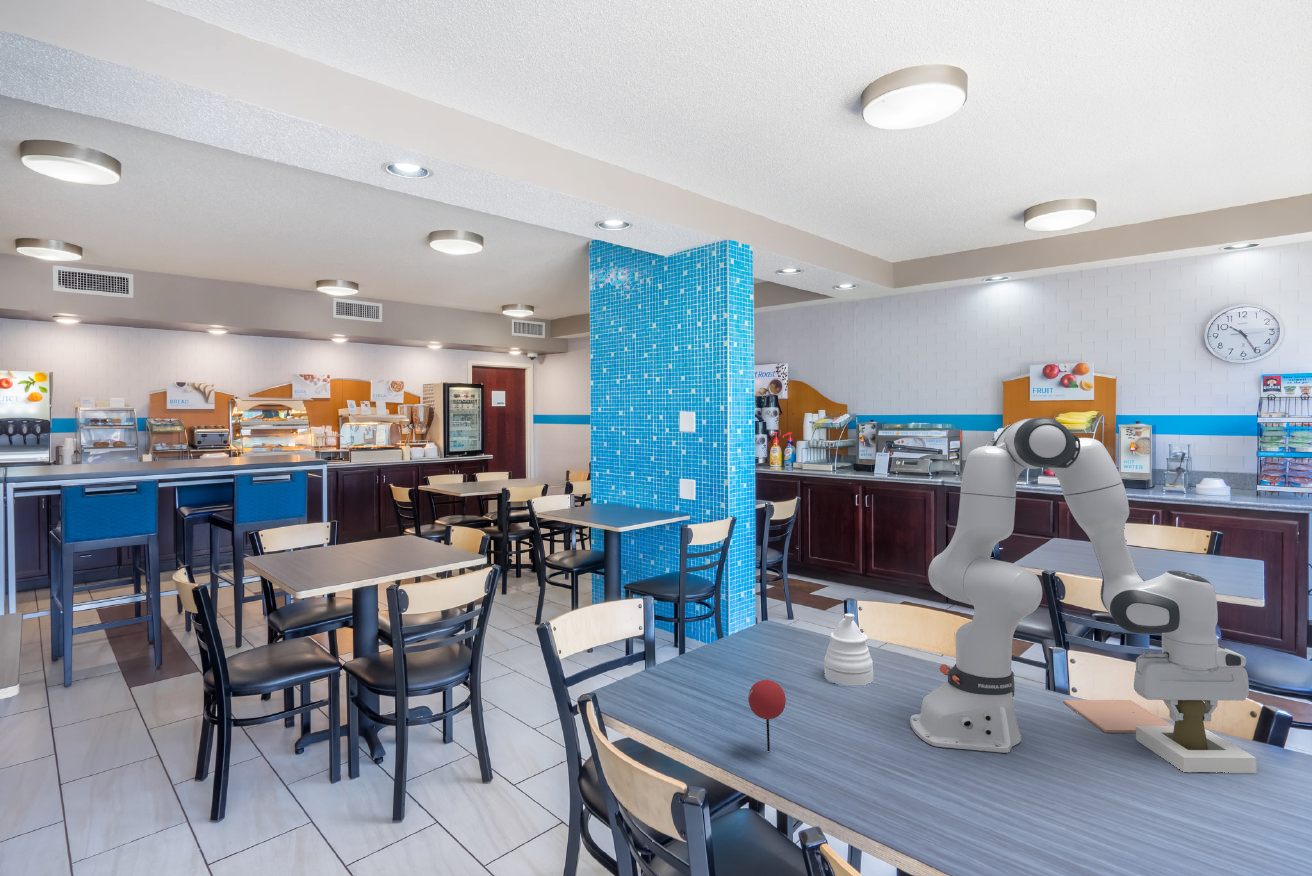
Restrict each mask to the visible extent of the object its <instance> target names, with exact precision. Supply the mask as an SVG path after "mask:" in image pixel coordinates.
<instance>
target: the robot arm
mask: <svg viewBox="0 0 1312 876" xmlns="http://www.w3.org/2000/svg"><path fill="white" fill-rule="evenodd" d="M1043 468H1044V469H1049V470H1050V471H1051V472H1052V473H1053V475H1054V476H1055V477H1056V478H1057V480H1058V481H1059V485H1060V488H1061V491H1062V495H1063V497H1064V500H1065V502H1066V505H1067V507H1068V508H1069V511H1070V513H1071V515H1072V517H1073V518H1074V520H1075V521H1076V523H1077V524H1078V526H1079V527H1080V528H1081V529H1082V530H1083V531H1084V533H1085V534H1086V535H1087V537H1088V538H1089V540H1090V543H1091V545H1092V548H1093V552H1094V554H1095V556H1096V558H1097V561H1098V565H1099V568H1100V571H1101V575H1102V581H1101V586H1100V587H1101V588H1100V600H1101V604H1102V605H1103V607H1104V608H1105V610H1106V611H1107V612H1108V613H1109V615H1110V617H1111V618H1112V620H1113V621H1114V622H1115V623H1116V625H1118V626H1119V627H1120V628H1122V629H1124V630H1125V631H1127V632H1130V633H1134V634H1148V635H1149V634H1161V651H1158V652H1157V651H1156V652H1152V651H1146V652H1143V653H1142V654H1140V655H1139V656H1138V657H1136V659H1135V673H1134V678H1133V679H1134V680H1133V690H1134V691H1135V693H1136V694H1137V695H1138V696H1140V697H1142V698H1143V699H1146V700H1148V701H1163V703H1164V704H1165V706H1166V707H1167V709H1168V711H1169V714H1168V715H1169V719H1170V720H1172V721H1174V722H1175V721H1183V713H1181V712H1179V711H1178V710H1177V708H1176V706H1175V705H1178V700H1202V701H1203V702H1204V703H1205V706H1206V713H1205V714H1204V715H1203V722H1211V721H1212V714H1213V713H1214V711H1215V710H1216V708H1217V707H1218V706H1219V705H1218V702H1219V701H1232V702H1233V701H1234V702H1236V701H1237V702H1238V701H1245V700H1246V699H1247V698H1248V697H1249V693H1250V692H1249V691H1250V686H1249V684H1250V683H1249V676H1248V671H1247V670H1246V669H1245V666H1246V664H1247V658H1246V657H1245V656H1244V655H1243V654H1240V653H1238V652H1235V651H1233V650H1231V649H1228V648H1226V647H1223V646H1220V645H1219V639H1218V636H1217V633H1216V632H1217V631H1216V626H1217V624H1218V621H1219V620H1218V600H1217V593H1216V591H1215V588H1214V586H1213V584H1212V583H1211V582H1210V581H1209V580H1208V579H1206V578H1204V577H1202V576H1200V575H1198V574H1197V575H1196V574H1194V573H1189V572H1185V571H1181V570H1167V571H1166V572H1164V573H1163V574H1161V575H1158V576H1157V577H1153V578H1151V579H1147V580H1145V579H1144V578H1143V577H1142V576H1141V575H1140V574H1139V573H1138V571H1137V569H1136V567H1135V564H1134V561H1133V558H1132V555H1131V552H1130V550H1129V547H1128V543H1127V541H1126V536H1125V526H1126V524H1127V523H1126V522H1127V520H1128V518H1129V516H1130V506H1129V499H1128V494H1127V490H1126V488H1125V485H1124V481H1123V479H1122V476H1121V475H1120V473H1119V470H1118V468H1117V466H1116V464H1115V462H1114V460H1113V459H1112V457H1111V455H1110V452H1109V451H1108V449H1107V448H1106V447H1105V445H1104V444H1103V443H1102V442H1101V441H1099V439H1095V438H1091V437H1077V436H1076V435H1075V434H1074V433H1073V432H1071V431H1070V430H1069V428H1067V427H1066V426H1065V425H1064V424H1063V423H1061V422H1059V421H1058V420H1056V419H1053V418H1050V417H1045V416H1043V417H1039V416H1038V417H1034V418H1030V417H1029V418H1024V419H1021V420H1018V421H1016V422H1013V423H1011V424H1010V425H1008V426H1006V428H1004V429H1003V430H1002V431H1001V433H999V435H998V437H997V439H995V441H994V442H993V444H992V445H982V446H978V447H976V448H974V449H973V450H971V451H970V452H969V453H968V455H967V457H966V460H965V463H964V469H963V471H962V477H961V484H960V495H959V507H958V515H957V523H956V527H955V531H954V534H953V535H952V538H951V539H950V542H949V544H948V545H947V546H946V547H945V549H944V550H943V551H942V552H940V553H939V554H937V555H936V556H935V557H933V559H932V560H931V562H930V564H929V566H928V570H927V571H928V572H927V574H928V575H927V576H928V581H929V584H930V586H931V587H932V589H933V590H934V591H936V592H938V593H940V594H941V595H942V596H945V597H947V598H949V599H951V600H953V601H957V602H960V603H964V604H967V605H970V606H973V609H974V610H973V611H974V612H973V616H972V620H971V621H968V622H966V623H964V624H962V625H961V626H960V627H959V628H958V629H957V630H956V633H955V664H954V665H953V666H952V668H950V667H949V666H948V665H947V664H946V663H945V664H944V663H943V664H940V665H939V671H940V673H942V674H943V676H944V675H945V676H947V681H946V682H945V683H943V684H941V685H940V686H939V687H937V688H936V689H934V690H932V691H930V693H928V694H926V695H925V696H924V697H923V699H922V702H921V706H920V713H918V714H917V713H916V714H912V715H911V716H910V719H909V725H910V727H911V729H912V731H913V732H914V733H915V735H916V736H917V737H919V738H920V739H921V740H922V741H923V742H926V743H927V744H929V745H931V746H933V747H936V748H937V747H938V748H947V749H948V748H949V749H960V750H961V749H962V750H969V751H981V752H990V753H991V752H992V753H1006V754H1008V753H1010V752H1011V750H1012V748H1013V747H1014V746H1017V745H1018V744H1020V743H1021V742H1022V737H1023V736H1022V734H1021V732H1020V729H1019V724H1018V721H1017V715H1016V710H1015V704H1014V703H1015V701H1014V697H1015V685H1016V684H1015V673H1014V672H1013V670H1012V653H1013V652H1012V651H1013V648H1012V647H1013V639H1014V634H1015V631H1016V630H1017V627H1018V625H1019V623H1020V622H1022V620H1023V619H1024V618H1025V617H1027V616H1028V615H1030V614H1032V613H1034V612H1035V611H1036V610H1037V609H1038V608H1039V606H1040V604H1041V601H1042V598H1043V587H1042V583H1041V581H1040V579H1039V577H1038V575H1037V574H1036V573H1035V572H1033V571H1031V570H1029V569H1027V568H1025V567H1022V566H1020V565H1018V564H1015V563H1012V562H1008V561H1002V560H998V559H993V558H991V556H992V553H993V550H994V549H995V547H996V545H997V544H998V543H999V542H1002V541H1004V540H1006V539H1007V538H1009V537H1010V536H1011V535H1012V534H1013V531H1014V527H1015V526H1014V525H1015V515H1016V514H1015V512H1016V499H1017V498H1016V497H1017V483H1018V479H1019V476H1020V475H1021V473H1022V472H1023V471H1024V470H1025V469H1030V470H1037V469H1043Z"/></svg>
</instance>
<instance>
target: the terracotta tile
mask: <svg viewBox="0 0 1312 876" xmlns="http://www.w3.org/2000/svg"><path fill="white" fill-rule="evenodd" d="M1063 702H1064V703H1063ZM1062 703H1063V704H1065V705H1066V706H1067V707H1068V708H1070V709H1072V710H1073V711H1074V710H1075V711H1074V712H1076V713H1077V712H1078V713H1077V714H1079V715H1080V716H1081V715H1082V717H1083V718H1084V719H1086V720H1087V721H1088V722H1089V723H1091V724H1092V725H1094V726H1095V727H1097V728H1098V729H1099V730H1100V731H1102V732H1103V733H1107V734H1108V733H1109V734H1112V733H1113V734H1117V733H1118V734H1123V733H1124V734H1136V726H1174V724H1171V723H1170V722H1168V721H1166V720H1165V719H1163V718H1161V717H1159V716H1158V715H1156V714H1155V713H1153V712H1151V711H1150V710H1148V709H1146V708H1145V707H1143V706H1142V705H1140V704H1138V703H1136V702H1135V701H1134V700H1131V699H1063V700H1062ZM1132 712H1135V713H1132Z"/></svg>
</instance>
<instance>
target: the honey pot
mask: <svg viewBox="0 0 1312 876" xmlns="http://www.w3.org/2000/svg"><path fill="white" fill-rule="evenodd" d="M829 638H830V641H829V643H828V645H827V649H826V651H825V652H826V653H825V655H824V658H823V659H824V662H823V663H824V665H823V666H824V668H823V669H824V673H825V674H824V677H825V676H826V677H827V678H828V679H829V680H832V681H835V682H837V683H841V684H844V685H866V684H868V683H871V682H872V681H873V682H874V668H873V667H874V661H873V659H872V656H871V653H870V651H869V650H870V649H869V646H867V641H868V640H869V637H868V635H867V634H866V633H863V632H862V631H861V629H860V628H859V625H858V624H857V623H856V621H855V614H854V613H844V617H843V618H842V619H841V620H840V621H839V622H838V623H837V625H836V627H835V630H834V631H832V632H830V634H829Z"/></svg>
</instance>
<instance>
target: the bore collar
mask: <svg viewBox="0 0 1312 876" xmlns="http://www.w3.org/2000/svg"><path fill="white" fill-rule="evenodd" d="M1173 731H1174V725H1173V726H1136V733H1135V740H1136V741H1137V742H1138V743H1140V744H1141V745H1143V747H1146V748H1147V749H1149V750H1150V751H1151V752H1153V753H1154V754H1156V755H1158V756H1159V757H1160V756H1161V757H1160V758H1161V759H1163V758H1164V759H1163V760H1165V762H1168V763H1169V762H1170V763H1171V765H1172V766H1173V765H1174V766H1173V767H1175V768H1176V767H1177V768H1176V769H1177V770H1179V769H1180V770H1179V771H1180V772H1182V771H1183V772H1182V773H1184V772H1216V773H1215V774H1218V773H1217V772H1223V773H1222V774H1257V757H1256V756H1254V755H1252V754H1250V753H1249V752H1247V751H1246V750H1244V749H1241V748H1240V747H1239V746H1236V745H1235V744H1233V743H1231V742H1229V741H1228V740H1226V739H1224V738H1222V737H1221V736H1219V735H1217V734H1215V733H1214V732H1211V731H1209V730H1208V729H1207V728H1205V733H1206V739H1207V745H1208V750H1187V749H1186V748H1184V747H1183V746H1181V745H1179V744H1178V743H1176V742H1175V741H1173V740H1172V737H1173ZM1170 763H1169V764H1170ZM1224 772H1225V773H1224ZM1228 772H1229V773H1228Z"/></svg>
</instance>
